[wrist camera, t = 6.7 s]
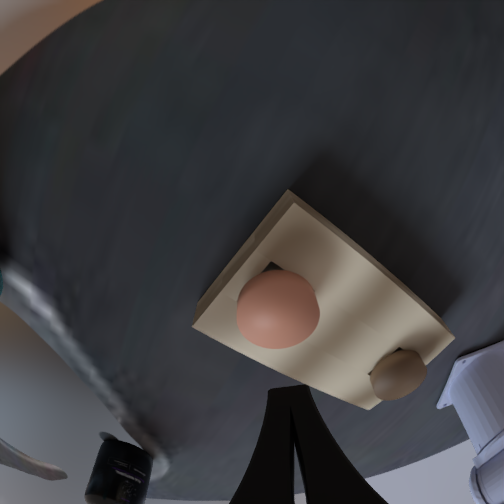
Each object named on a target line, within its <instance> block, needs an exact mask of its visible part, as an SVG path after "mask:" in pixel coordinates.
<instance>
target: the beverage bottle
mask: <svg viewBox="0 0 504 504" xmlns="http://www.w3.org/2000/svg"><path fill="white" fill-rule="evenodd" d="M2 289H3V279H2V274H1V270H0V295H1V293H2Z"/></svg>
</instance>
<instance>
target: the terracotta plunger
mask: <svg viewBox="0 0 504 504" xmlns="http://www.w3.org/2000/svg"><path fill="white" fill-rule="evenodd" d="M319 318H320V309H319V305H318V302H317V299H316V296H315V293H314V290H313V288H312V286H311V285H310V283H309V282H308V281H307V280H306V279H305V278H303V277H302V276H300V275H299V274H296V273H294V272H291V271H286V270H284V269H283V268H281V267H280V266H278V265H277V264H275V263H274V262H270V263H269V264H268V265H267V266H266V268H265V269H264V270H263V271H262V272H261V273H260V274H258V275H256V276H255V277H253V278H252V279H250V280H249V281H248V282H247V283H246V284H245V285H244V286H243V288H242V289H241V291H240V293H239V296H238V300H237V319H236V320H237V325H238V328H239V330H240V332H241V333H242V335H243V336H244V337H245V338H246V339H247V340H248V341H250V342H251V343H253V344H255V345H257V346H260V347H263V348H268V349H283V348H288V347H292V346H294V345H297V344H299V343H301V342H302V341H304V340H305V339H307V338H308V337H309V336H310V335H311V334H312V333H313V332H314V330H315V329H316V327H317V325H318V322H319Z"/></svg>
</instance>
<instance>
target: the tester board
mask: <svg viewBox="0 0 504 504" xmlns="http://www.w3.org/2000/svg"><path fill="white" fill-rule="evenodd" d="M271 261H272V262H274V263H275V264H277V265H278V266H280V267H281V268H283V269H284V270H286V271H291V272H294V273H296V274H299V275H300V276H302V277H303V278H305V279H306V280H307V281H308V282H309V283H310V285H311V286H312V288H313V290H314V293H315V296H316V299H317V302H318V305H319V309H320V318H319V322H318V325H317V327H316V329H315V330H314V332H313V333H312V334H311V335H310V336H309V337H308V338H307V339H305V340H304V341H302V342H301V343H299V344H297V345H294V346H292V347H288V348H283V349H268V348H263V347H260V346H257V345H255V344H253V343H251V342H250V341H248V340H247V339H246V338H245V337H244V336H243V335H242V333H241V332H240V330H239V328H238V325H237V320H236V319H237V300H238V296H239V293H240V291H241V289H242V288H243V286H244V285H245V284H246V283H247V282H248V281H249V280H250V279H252V278H253V277H255V276H256V275H258V274H260V273H261V272H262V271H263V270H264V269H265V268H266V266H267V265H268V264H269V263H270V262H271ZM192 327H193V328H195V329H197V330H199V331H200V332H202V333H204V334H206V335H208V336H210V337H211V338H213V339H215V340H217V341H219V342H221V343H223V344H225V345H226V346H228V347H230V348H232V349H234V350H236V351H238V352H240V353H242V354H244V355H246V356H248V357H250V358H252V359H254V360H256V361H258V362H260V363H262V364H264V365H266V366H268V367H270V368H272V369H274V370H276V371H278V372H281V373H283V374H285V375H287V376H289V377H291V378H293V379H296V380H298V381H300V382H302V383H304V384H307V385H309V386H311V387H313V388H316V389H318V390H320V391H323V392H325V393H327V394H330V395H332V396H334V397H337V398H339V399H342V400H344V401H347V402H349V403H352V404H354V405H357V406H359V407H362V408H364V409H367V410H370V409H371V408H373V407H374V406H375V405H377V404H378V403H380V402H381V401H382V400H381V399H379V398H377V397H376V395H375V393H374V390H373V387H372V385H371V382H370V375H371V372H372V370H373V369H374V367H375V366H376V365H377V364H378V363H379V362H380V361H381V360H383V359H384V358H385V357H387V356H389V355H391V354H392V353H393V352H394V351H395V350H396V349H397V348H398V347H400V348H402V349H403V350H413V351H416V352H417V353H419V355H420V357H421V358H422V360H423V362H424V364H425V366H426V365H427V364H428V363H429V362H430V361H431V360H432V359H433V358H435V357H436V356H437V355H438V354H439V353H440V352H441V351H442V350H443V349H444V348H445V347H446V346H447V345H449V344H450V343H451V342H452V341H453V340H454V339H455V337H454V335H453V334H452V333H451V331H450V330H449V328H448V327H447V326H446V324H445V323H444V322H443V320H442V319H441V318H440V317H439V316H438V315H437V314H436V313H435V312H434V311H433V310H432V309H431V308H430V307H429V306H428V305H426V304H425V303H424V302H423V301H422V300H421V299H420V298H419V297H418V296H417V295H416V294H414V293H413V292H412V291H411V290H410V289H409V288H408V287H407V286H406V285H404V284H403V283H402V282H401V281H400V280H399V279H398V278H397V277H395V276H394V275H393V274H392V273H391V272H390V271H389V270H387V269H386V268H385V267H384V266H383V265H382V264H380V263H379V262H378V261H377V260H376V259H375V258H373V257H372V256H371V255H370V254H369V253H368V252H366V251H365V250H364V249H363V248H362V247H360V246H359V245H358V244H357V243H356V242H354V241H353V240H352V239H351V238H349V237H348V236H347V235H346V234H345V233H343V232H342V231H341V230H340V229H338V228H337V227H336V226H335V225H333V224H332V223H331V222H330V221H328V220H327V219H326V218H325V217H323V216H322V215H321V214H320V213H318V212H317V211H316V210H314V209H313V208H312V207H311V206H309V205H308V204H307V203H305V202H304V201H303V200H301V199H300V198H299V197H298V196H296V195H295V194H294V193H292V192H291V191H290V190H288V189H287V191H286V192H285V193H284V194H283V196H282V197H281V198H280V199H279V201H278V202H277V203H276V204H275V206H274V207H273V208H272V209H271V211H270V212H269V213H268V214H267V216H266V217H265V218H264V219H263V221H262V222H261V223H260V224H259V226H258V227H257V228H256V229H255V231H254V232H253V233H252V234H251V236H250V237H249V238H248V239H247V241H246V242H245V243H244V244H243V246H242V247H241V248H240V249H239V251H238V252H237V253H236V254H235V256H234V257H233V258H232V259H231V261H230V262H229V263H228V265H227V266H226V267H225V268H224V270H223V271H222V272H221V273H220V275H219V276H218V277H217V278H216V280H215V281H214V282H213V283H212V285H211V286H210V287H209V289H208V290H207V291H206V292H205V294H204V295H203V296H202V297H201V299H200V300H199V301H198V304H197V308H196V312H195V316H194V320H193V325H192Z"/></svg>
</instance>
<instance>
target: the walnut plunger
mask: <svg viewBox="0 0 504 504" xmlns="http://www.w3.org/2000/svg"><path fill="white" fill-rule="evenodd" d="M426 374H427V368H426V366H425V364H424V362H423V360H422V358H421V357H420V355H419V353H417V352H416V351H413V350H403V349H402V348H400V347H398V348H397V349H396V350H395V351H394V352H393V353H392V354H391V355H389V356H387V357H385V358H384V359H383V360H381V361H380V362H379V363H378V364H377V365H376V366H375V367H374V369H373V370H372V372H371V375H370V382H371V385H372V387H373V390H374V393H375V395H376V397H377V398H379V399H381V400H395V399H398V398H401V397H404V396H406V395H408V394H409V393H411V392H412V391H414V390H415V389H416V388H417V387H418V386H419V385H420V384H421V383H422V382H423V381H424V379H425V377H426Z"/></svg>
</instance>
